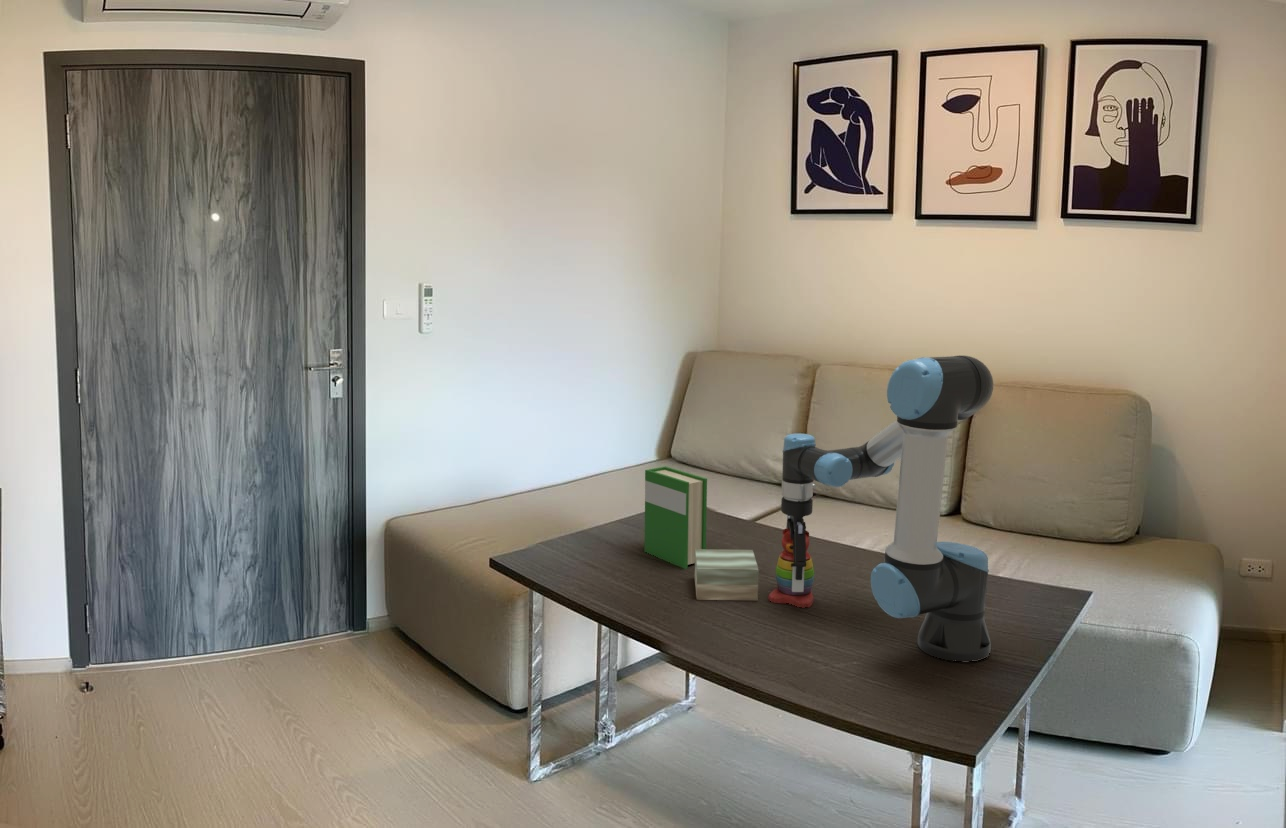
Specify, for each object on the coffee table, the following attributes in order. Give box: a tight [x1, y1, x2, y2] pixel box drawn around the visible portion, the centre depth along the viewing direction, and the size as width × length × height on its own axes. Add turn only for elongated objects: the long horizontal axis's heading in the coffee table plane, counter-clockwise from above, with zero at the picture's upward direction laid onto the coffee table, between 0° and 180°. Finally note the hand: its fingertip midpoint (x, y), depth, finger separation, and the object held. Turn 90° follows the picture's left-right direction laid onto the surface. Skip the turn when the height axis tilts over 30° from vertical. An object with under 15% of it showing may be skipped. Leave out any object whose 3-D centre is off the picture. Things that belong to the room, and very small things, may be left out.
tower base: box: [694, 548, 760, 601], centre depth 240 cm, size 15×15×8 cm
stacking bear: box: [767, 528, 815, 609], centre depth 233 cm, size 11×10×18 cm
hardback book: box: [644, 466, 708, 570], centre depth 262 cm, size 18×7×24 cm, turn 38°
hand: (793, 582), depth 234 cm, fingers open, 12 cm apart
